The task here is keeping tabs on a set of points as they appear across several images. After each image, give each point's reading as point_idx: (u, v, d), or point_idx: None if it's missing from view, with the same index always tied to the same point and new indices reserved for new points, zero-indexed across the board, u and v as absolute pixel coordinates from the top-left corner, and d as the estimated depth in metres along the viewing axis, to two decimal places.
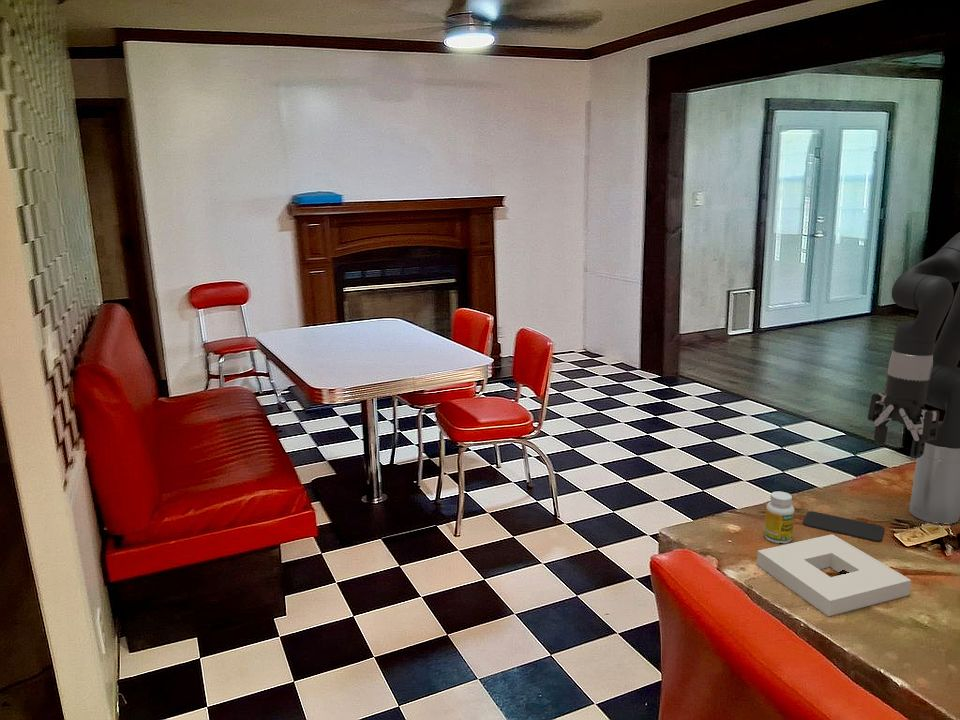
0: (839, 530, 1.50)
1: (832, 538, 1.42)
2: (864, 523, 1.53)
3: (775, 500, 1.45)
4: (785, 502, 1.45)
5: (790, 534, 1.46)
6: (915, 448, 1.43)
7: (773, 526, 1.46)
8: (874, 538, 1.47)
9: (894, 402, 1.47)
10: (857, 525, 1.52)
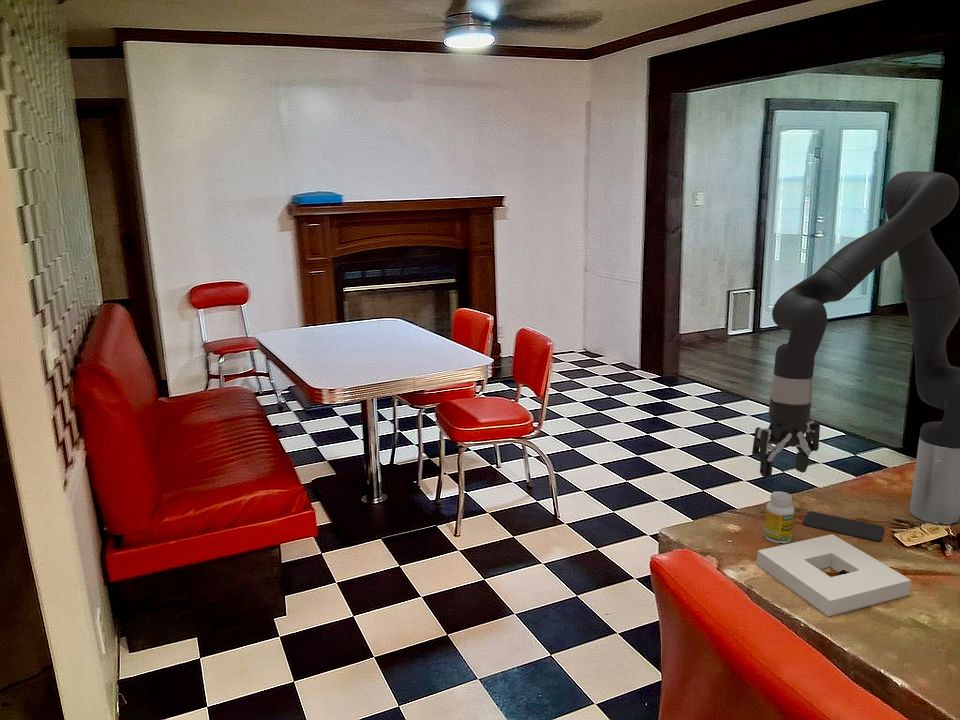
0: (839, 530, 1.50)
1: (832, 538, 1.42)
2: (864, 523, 1.53)
3: (775, 500, 1.45)
4: (785, 502, 1.45)
5: (790, 534, 1.46)
6: None
7: (773, 526, 1.46)
8: (874, 538, 1.47)
9: (786, 430, 1.41)
10: (857, 526, 1.52)
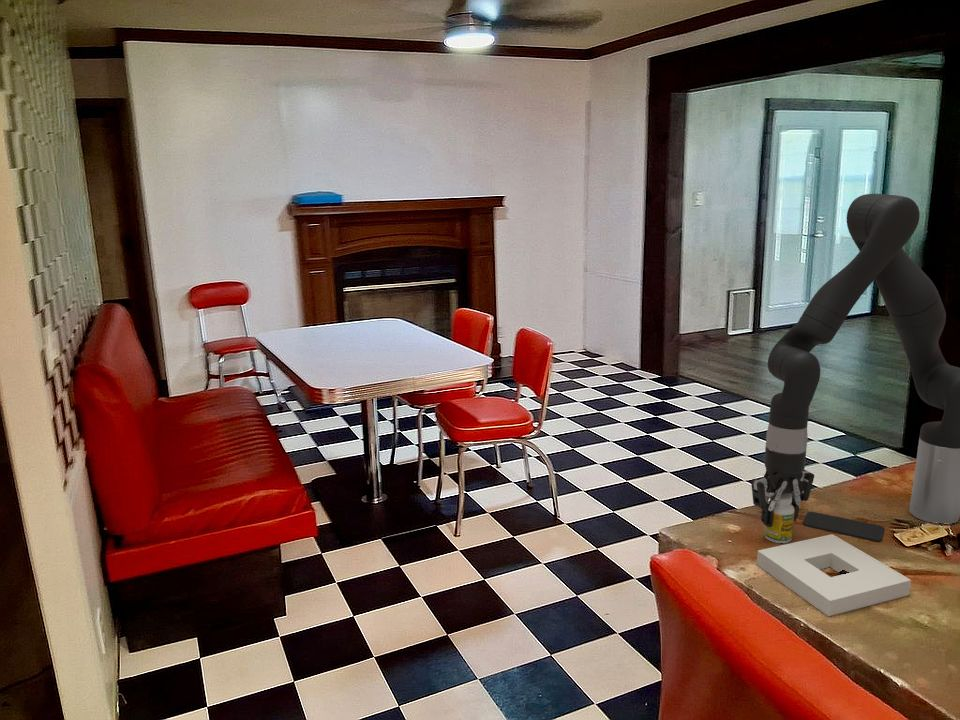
0: (839, 530, 1.50)
1: (832, 538, 1.42)
2: (864, 523, 1.53)
3: None
4: (785, 502, 1.45)
5: (790, 534, 1.46)
6: None
7: (773, 526, 1.46)
8: (874, 538, 1.47)
9: (781, 477, 1.44)
10: (857, 525, 1.52)
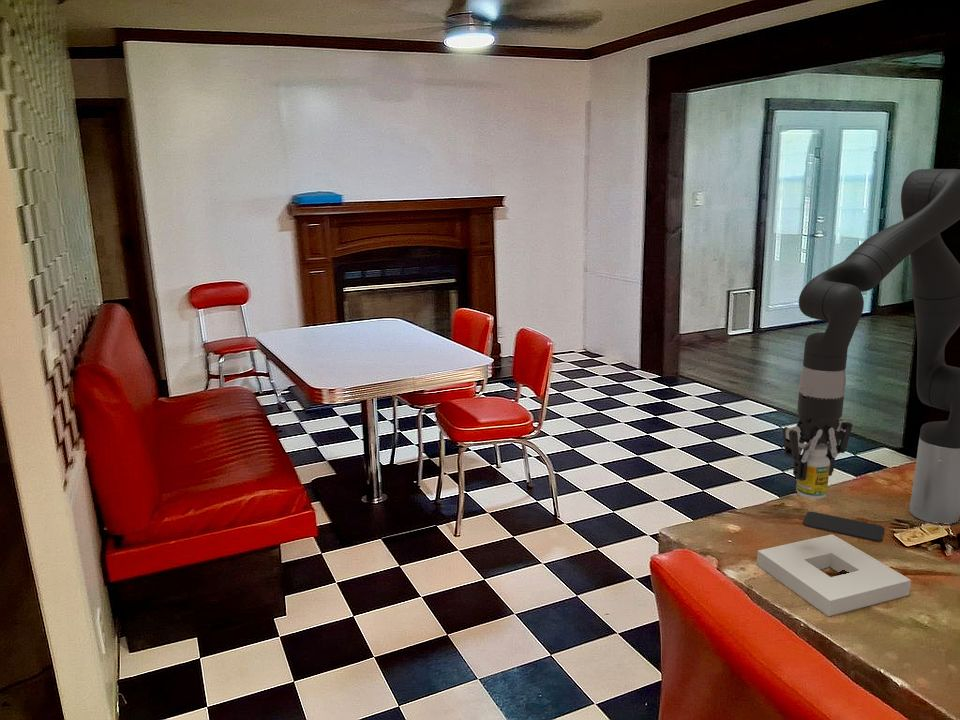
0: (839, 530, 1.50)
1: (832, 538, 1.42)
2: (864, 523, 1.53)
3: None
4: (820, 453, 1.32)
5: (825, 488, 1.34)
6: None
7: (807, 480, 1.34)
8: (874, 538, 1.47)
9: (816, 426, 1.32)
10: (857, 525, 1.52)
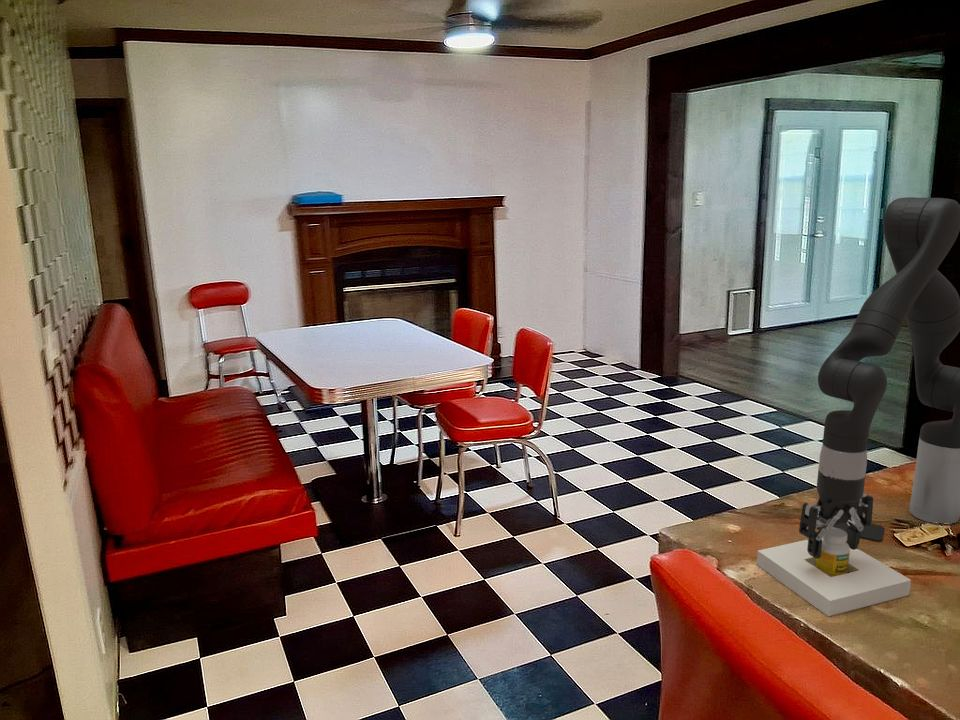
0: None
1: None
2: None
3: (829, 538, 1.30)
4: (840, 540, 1.29)
5: None
6: None
7: (826, 567, 1.31)
8: (874, 538, 1.47)
9: (837, 505, 1.28)
10: None
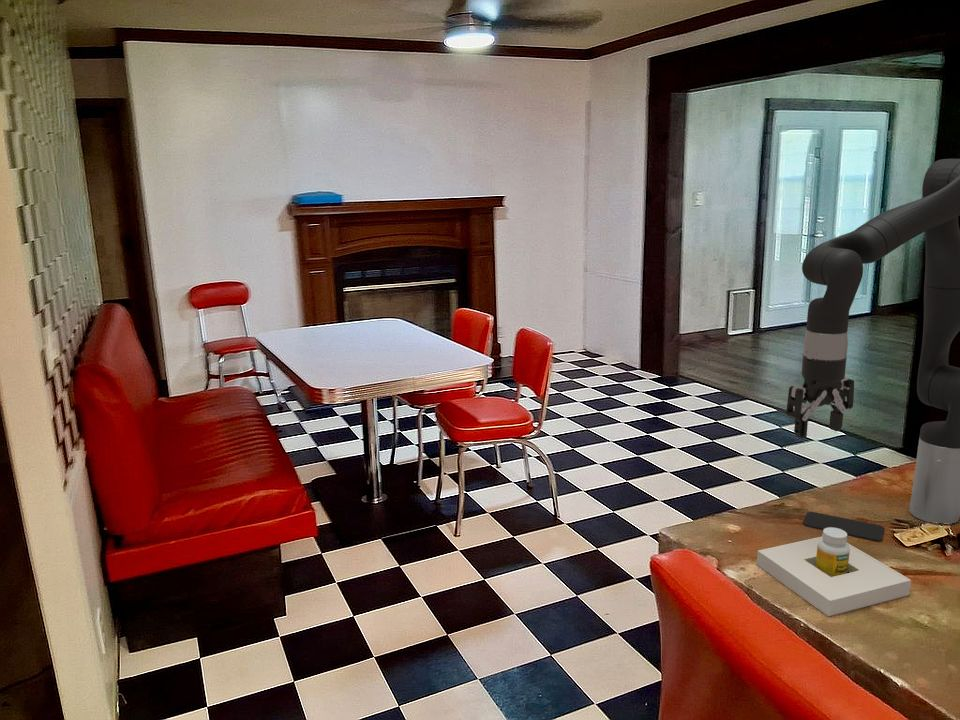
0: None
1: None
2: (864, 523, 1.53)
3: (829, 538, 1.30)
4: (840, 541, 1.29)
5: None
6: None
7: (826, 567, 1.31)
8: (874, 538, 1.47)
9: (820, 387, 1.37)
10: (857, 525, 1.52)
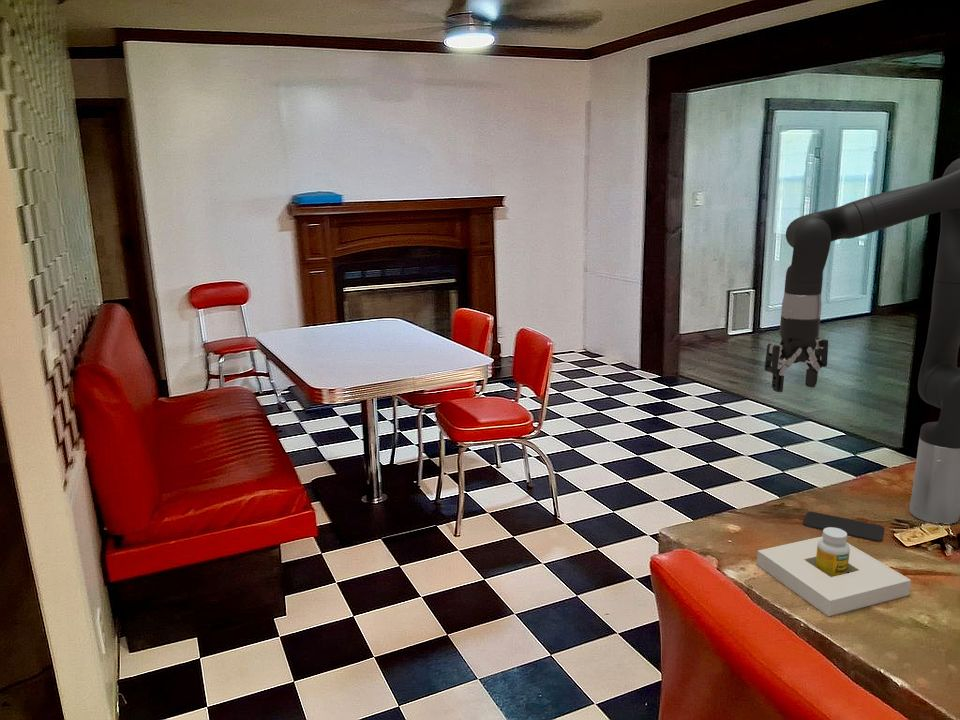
0: None
1: None
2: (864, 523, 1.53)
3: (829, 538, 1.30)
4: (840, 540, 1.29)
5: None
6: None
7: (826, 567, 1.31)
8: (874, 538, 1.47)
9: (796, 345, 1.50)
10: (857, 525, 1.52)
